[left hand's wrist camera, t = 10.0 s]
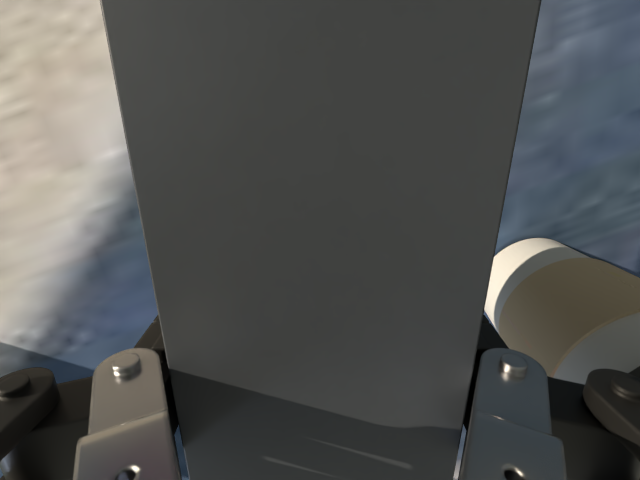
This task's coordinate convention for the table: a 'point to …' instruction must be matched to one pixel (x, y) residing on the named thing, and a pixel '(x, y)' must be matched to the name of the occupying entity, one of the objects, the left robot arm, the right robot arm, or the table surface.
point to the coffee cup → (565, 309)
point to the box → (320, 219)
